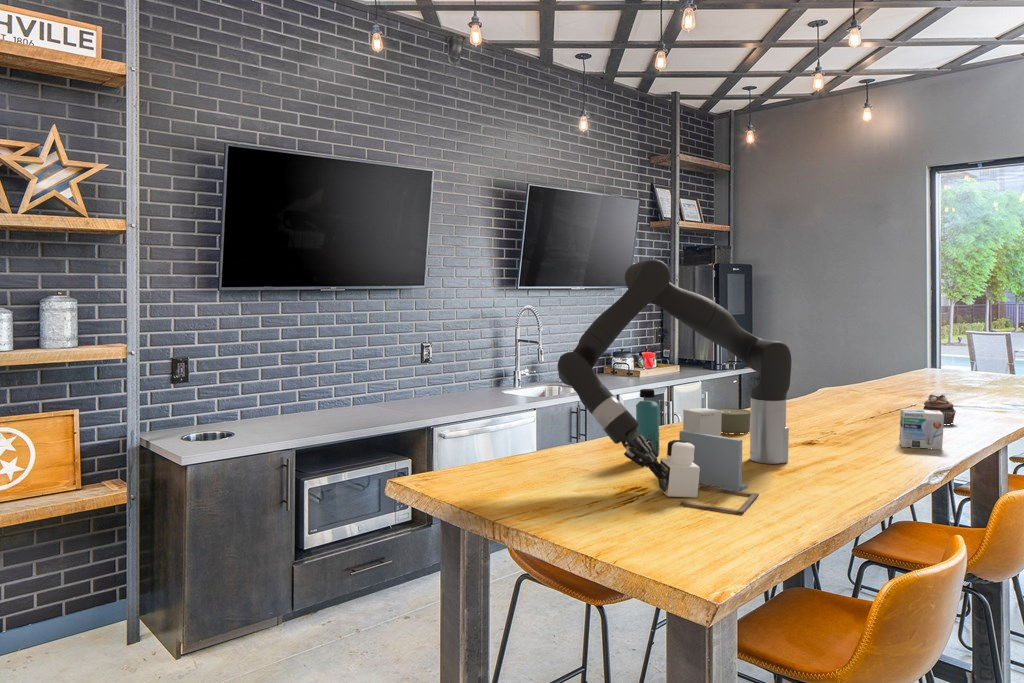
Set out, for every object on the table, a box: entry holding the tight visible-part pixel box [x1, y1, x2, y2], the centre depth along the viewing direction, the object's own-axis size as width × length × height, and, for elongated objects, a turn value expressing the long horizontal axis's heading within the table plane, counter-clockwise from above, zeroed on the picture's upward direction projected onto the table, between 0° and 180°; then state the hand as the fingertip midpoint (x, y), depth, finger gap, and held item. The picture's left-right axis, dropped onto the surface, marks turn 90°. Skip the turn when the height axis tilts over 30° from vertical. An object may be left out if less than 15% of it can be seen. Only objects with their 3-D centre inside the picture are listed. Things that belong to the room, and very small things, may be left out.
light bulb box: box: [898, 408, 944, 450], centre depth 204 cm, size 11×7×11 cm, turn 68°
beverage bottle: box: [635, 388, 660, 457], centre depth 189 cm, size 6×7×20 cm
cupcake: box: [922, 394, 957, 424], centre depth 240 cm, size 10×10×10 cm
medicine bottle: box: [657, 439, 700, 499], centre depth 157 cm, size 7×7×12 cm
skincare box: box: [682, 407, 722, 436], centre depth 181 cm, size 8×7×16 cm
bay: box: [679, 485, 760, 516], centre depth 152 cm, size 13×15×1 cm
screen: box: [678, 429, 748, 491], centre depth 165 cm, size 16×7×12 cm, turn 43°
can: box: [714, 408, 750, 434], centre depth 229 cm, size 12×12×7 cm
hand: (663, 476), depth 159 cm, fingers closed
